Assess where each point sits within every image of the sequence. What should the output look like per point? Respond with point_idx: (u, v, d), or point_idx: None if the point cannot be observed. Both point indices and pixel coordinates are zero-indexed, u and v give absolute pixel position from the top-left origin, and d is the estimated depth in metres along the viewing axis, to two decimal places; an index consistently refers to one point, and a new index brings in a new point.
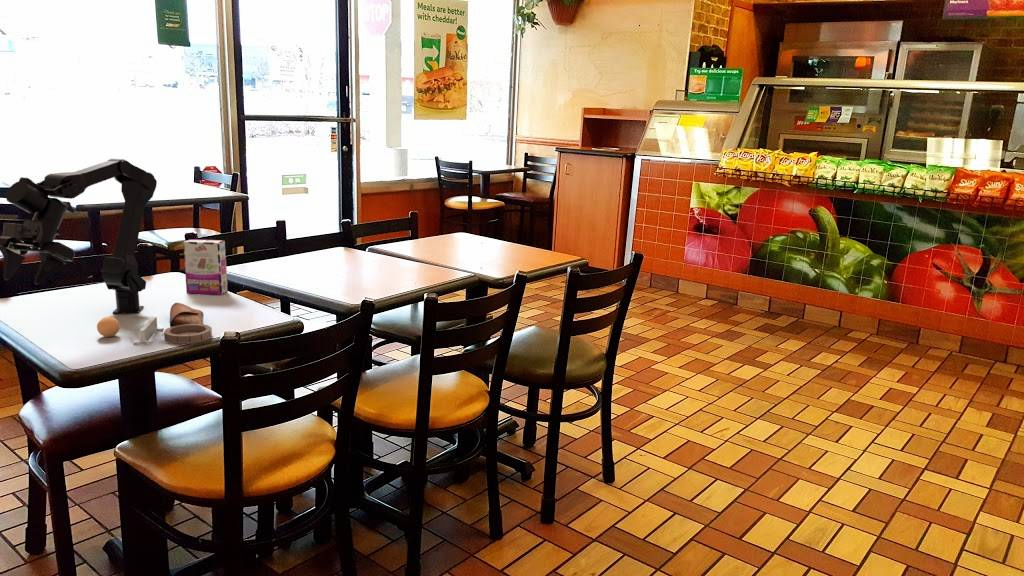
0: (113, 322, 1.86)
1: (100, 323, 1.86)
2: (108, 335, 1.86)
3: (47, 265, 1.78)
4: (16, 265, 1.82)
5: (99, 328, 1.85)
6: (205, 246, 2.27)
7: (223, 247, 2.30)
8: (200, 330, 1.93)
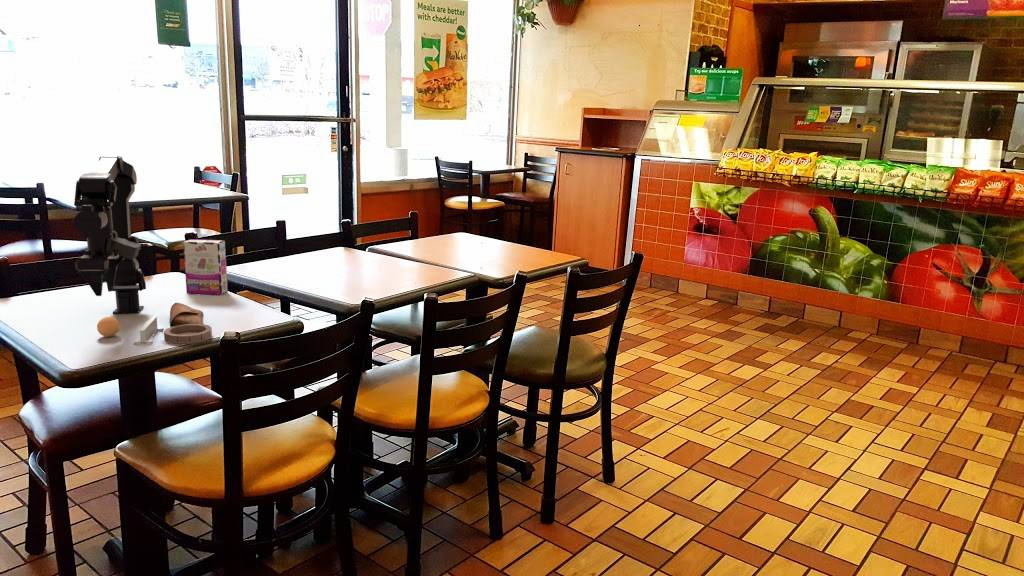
0: (113, 322, 1.86)
1: (100, 323, 1.86)
2: (108, 335, 1.86)
3: None
4: None
5: (99, 328, 1.85)
6: (205, 246, 2.27)
7: (223, 247, 2.30)
8: (200, 330, 1.93)
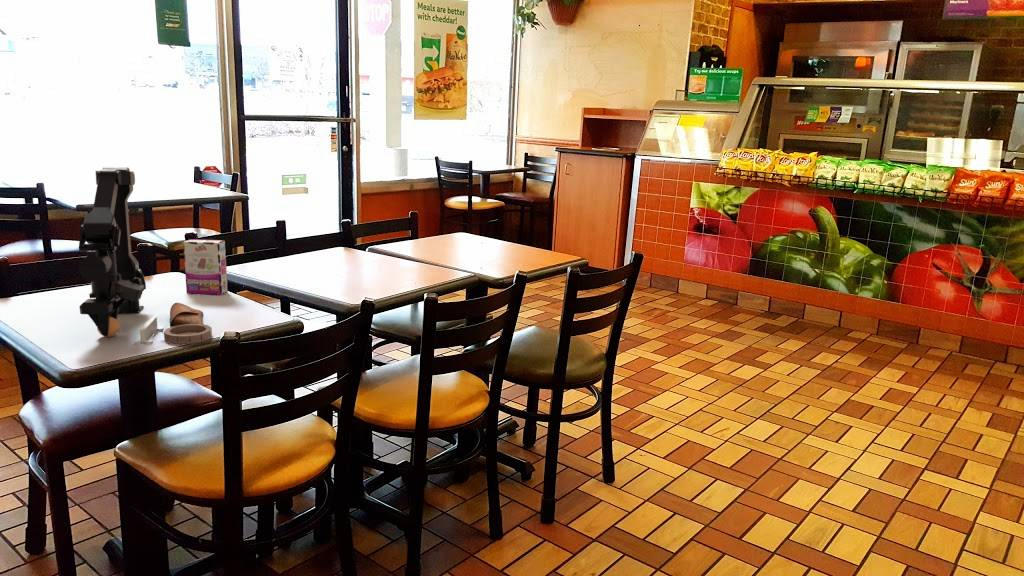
0: (113, 322, 1.86)
1: None
2: (108, 335, 1.86)
3: None
4: None
5: None
6: (205, 246, 2.27)
7: (223, 247, 2.30)
8: (200, 330, 1.93)
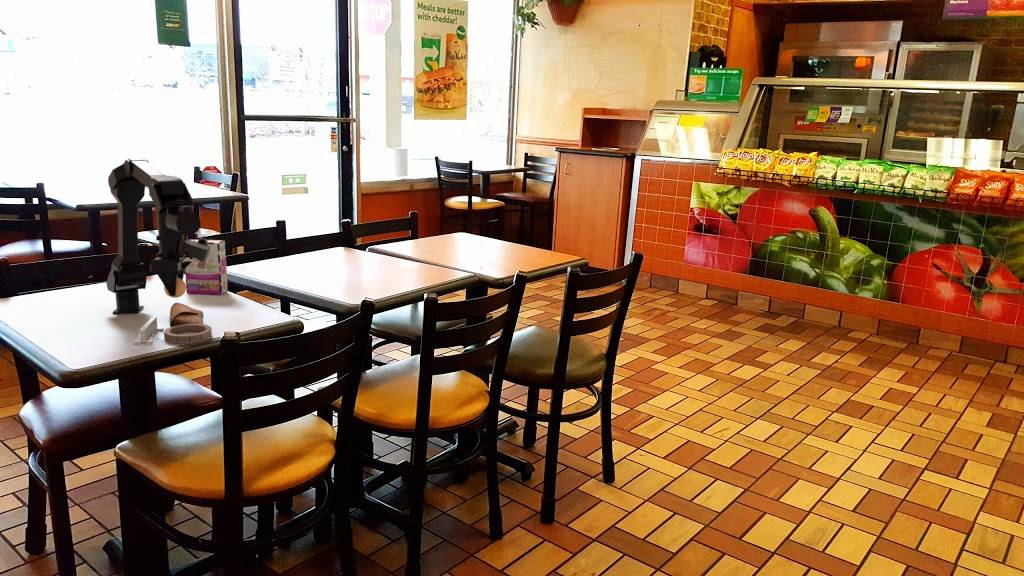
0: (180, 283, 1.85)
1: None
2: (175, 295, 1.85)
3: None
4: None
5: None
6: None
7: (223, 247, 2.30)
8: (200, 330, 1.93)
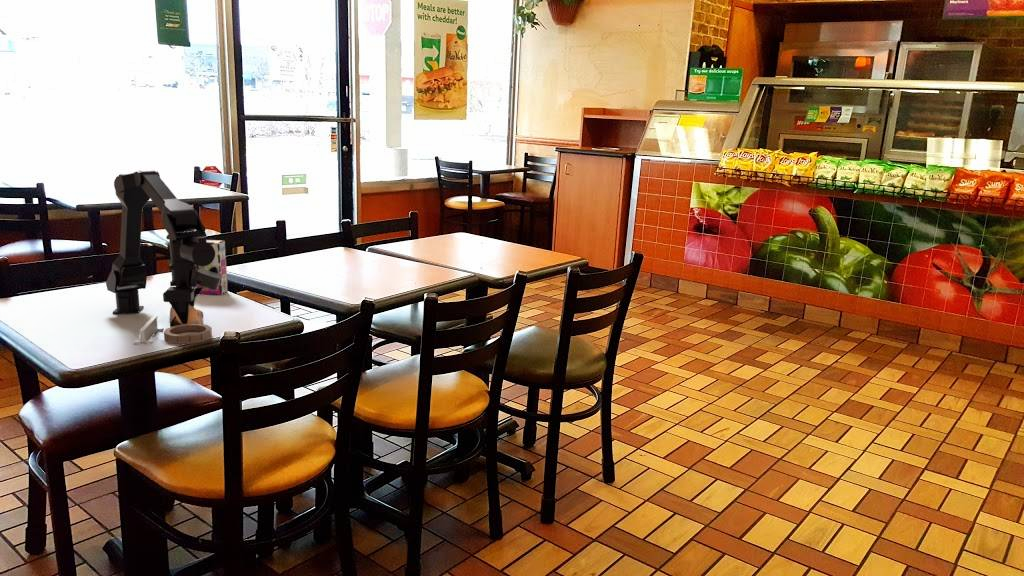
0: (191, 311, 1.87)
1: None
2: (187, 323, 1.87)
3: None
4: None
5: None
6: None
7: (223, 247, 2.30)
8: (200, 330, 1.93)
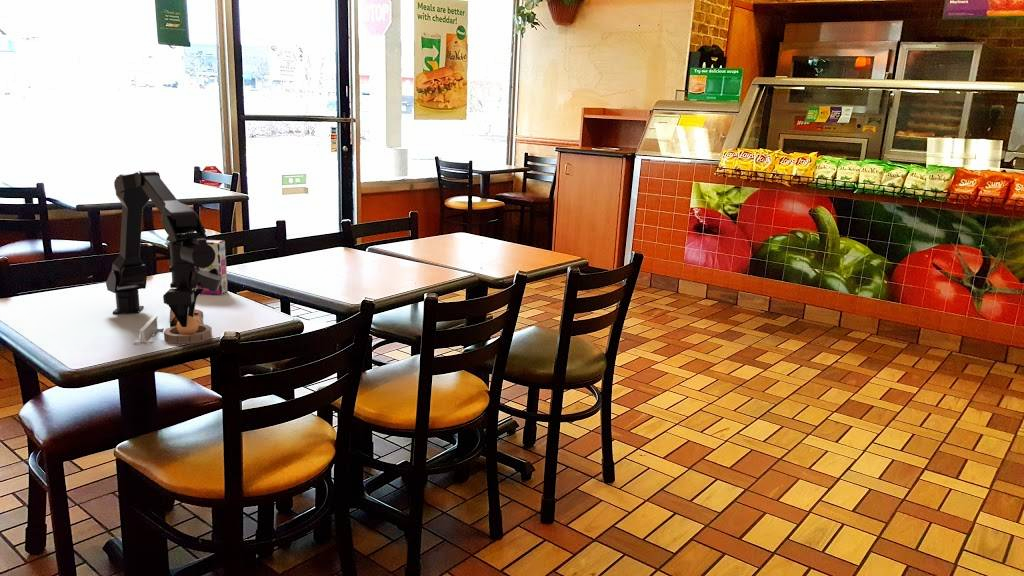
0: (192, 322, 1.88)
1: None
2: (188, 334, 1.88)
3: None
4: None
5: (179, 327, 1.87)
6: None
7: (223, 247, 2.30)
8: (200, 330, 1.93)
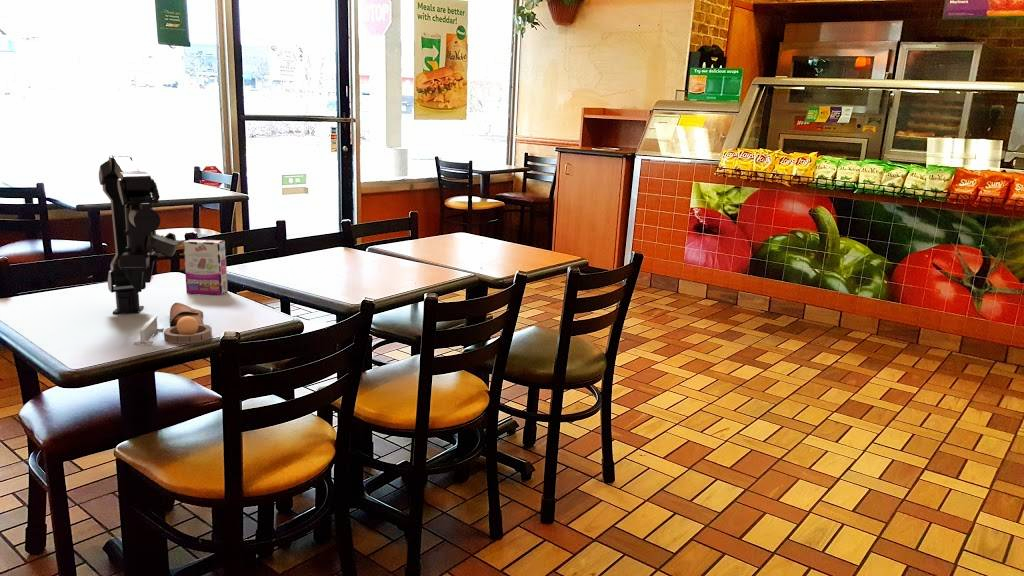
0: (192, 322, 1.87)
1: (180, 322, 1.87)
2: (188, 334, 1.88)
3: None
4: None
5: (179, 327, 1.87)
6: (205, 246, 2.27)
7: (223, 247, 2.30)
8: (200, 330, 1.93)
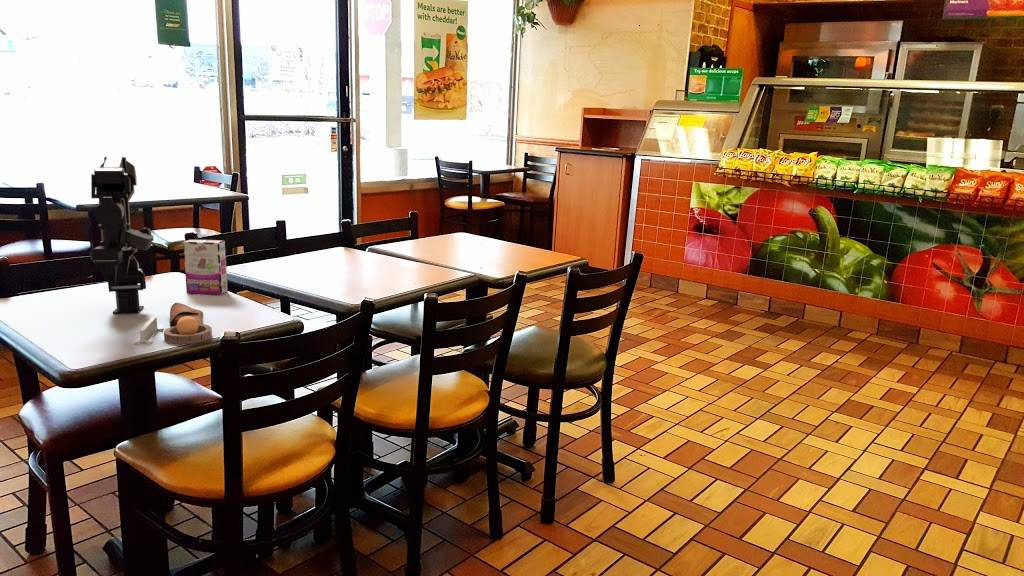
0: (192, 322, 1.87)
1: (180, 323, 1.87)
2: (188, 334, 1.88)
3: None
4: None
5: (179, 328, 1.87)
6: (205, 246, 2.27)
7: (223, 247, 2.30)
8: (200, 330, 1.93)
